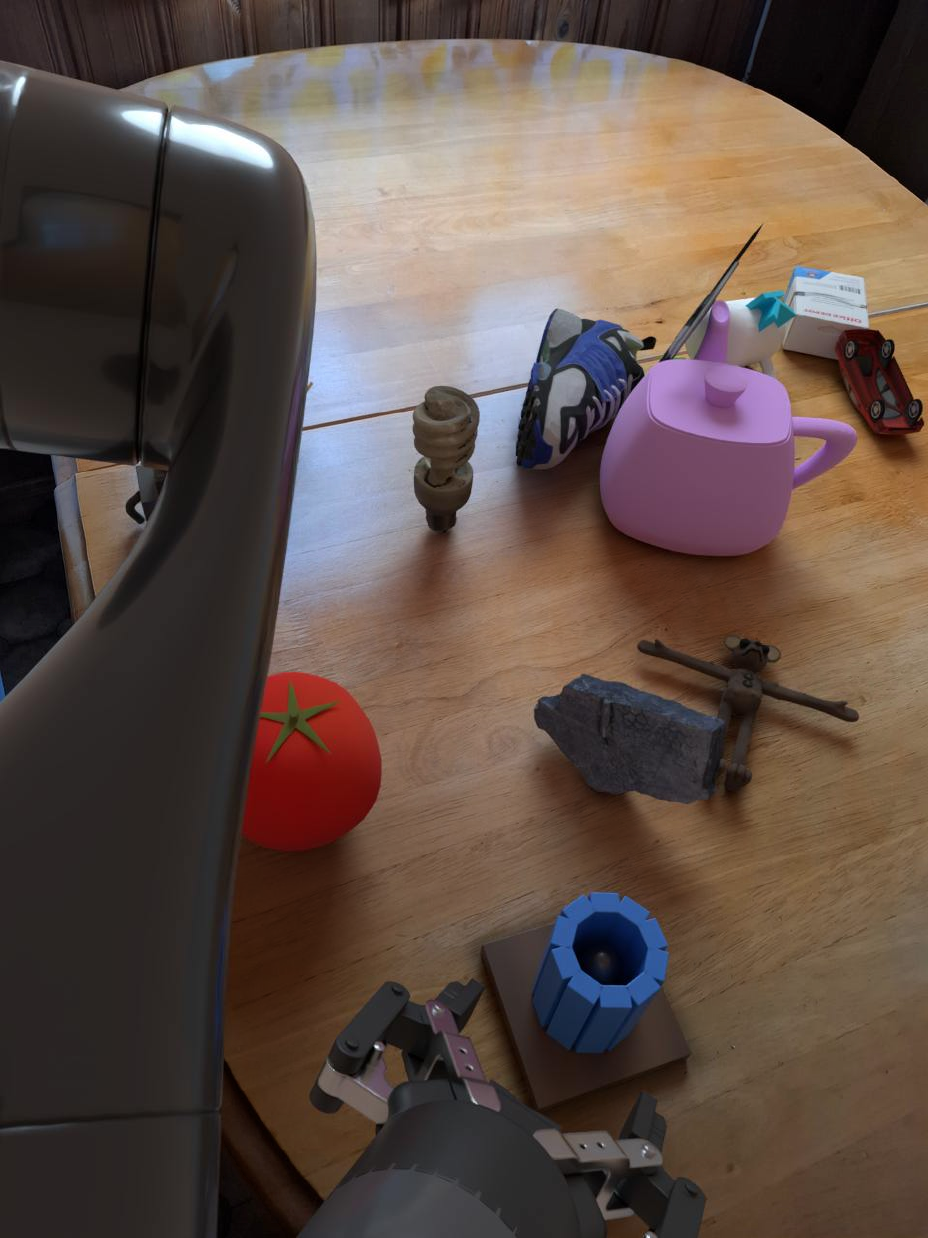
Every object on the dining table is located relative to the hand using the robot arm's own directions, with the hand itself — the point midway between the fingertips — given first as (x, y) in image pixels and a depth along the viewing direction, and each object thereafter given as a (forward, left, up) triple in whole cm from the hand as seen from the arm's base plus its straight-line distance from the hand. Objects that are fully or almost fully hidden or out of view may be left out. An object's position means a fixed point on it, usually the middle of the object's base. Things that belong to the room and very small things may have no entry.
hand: (552, 1053), depth 40 cm
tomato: (-7, +24, -16) cm, 30 cm away
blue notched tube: (+7, +5, -15) cm, 17 cm away
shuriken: (+32, +62, -9) cm, 70 cm away
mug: (+44, +60, -10) cm, 75 cm away
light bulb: (+11, +49, -16) cm, 52 cm away
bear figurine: (+27, +22, -16) cm, 39 cm away
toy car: (+63, +56, -11) cm, 85 cm away
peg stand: (+7, +6, -16) cm, 18 cm away
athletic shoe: (+24, +62, -12) cm, 68 cm away
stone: (+16, +21, -16) cm, 31 cm away
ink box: (+69, +75, -14) cm, 103 cm away
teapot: (+35, +46, -16) cm, 60 cm away
